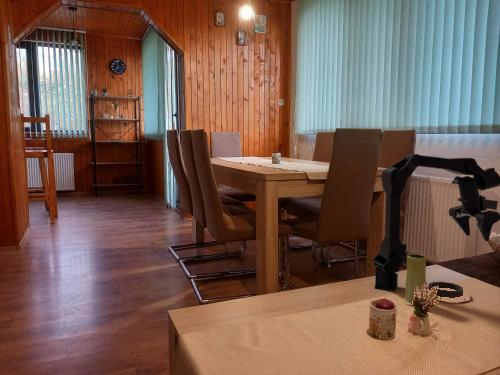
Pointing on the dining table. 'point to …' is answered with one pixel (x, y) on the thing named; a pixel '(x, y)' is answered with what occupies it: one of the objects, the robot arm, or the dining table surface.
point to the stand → (444, 292)
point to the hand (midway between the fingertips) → (477, 238)
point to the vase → (414, 274)
